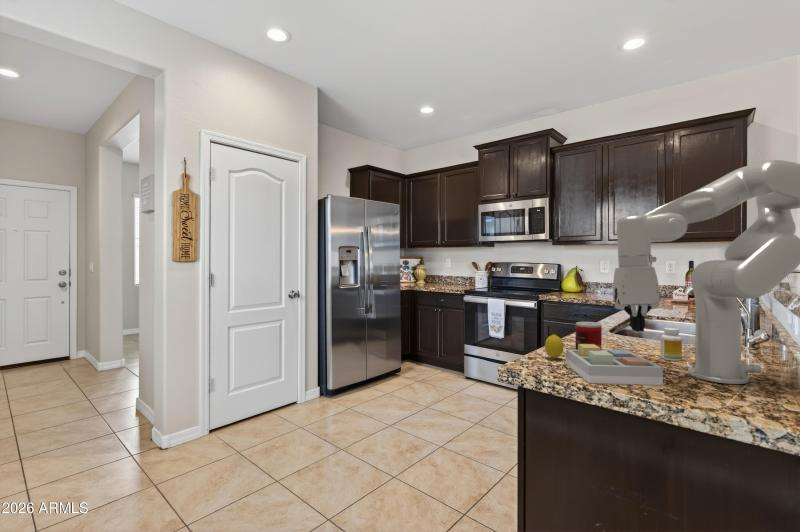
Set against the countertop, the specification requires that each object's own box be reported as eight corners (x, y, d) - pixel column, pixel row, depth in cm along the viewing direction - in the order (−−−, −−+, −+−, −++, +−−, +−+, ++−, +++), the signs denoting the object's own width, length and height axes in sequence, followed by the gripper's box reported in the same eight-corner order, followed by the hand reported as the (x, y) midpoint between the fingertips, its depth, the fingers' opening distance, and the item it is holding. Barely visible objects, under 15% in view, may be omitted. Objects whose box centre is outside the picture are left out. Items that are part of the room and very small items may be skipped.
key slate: (623, 360, 113) (623, 350, 113) (631, 364, 108) (631, 353, 108) (607, 359, 114) (607, 349, 113) (614, 364, 109) (614, 353, 109)
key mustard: (594, 354, 114) (594, 344, 114) (600, 358, 109) (600, 347, 109) (577, 354, 114) (577, 344, 114) (583, 357, 110) (583, 347, 110)
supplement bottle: (686, 361, 120) (686, 330, 119) (668, 361, 120) (668, 330, 119) (673, 356, 125) (674, 327, 125) (657, 356, 125) (657, 327, 125)
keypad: (628, 365, 115) (628, 350, 115) (662, 385, 97) (663, 367, 97) (566, 364, 117) (566, 349, 117) (588, 383, 99) (588, 365, 99)
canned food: (602, 355, 127) (602, 322, 127) (600, 361, 121) (600, 326, 120) (577, 352, 131) (577, 320, 131) (573, 357, 125) (573, 324, 125)
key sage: (606, 361, 106) (606, 351, 105) (613, 366, 101) (613, 355, 101) (588, 361, 106) (588, 350, 106) (595, 366, 101) (595, 354, 101)
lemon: (565, 361, 120) (565, 336, 120) (546, 360, 121) (546, 335, 121) (561, 357, 126) (561, 332, 125) (543, 356, 127) (543, 332, 127)
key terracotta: (638, 368, 105) (638, 357, 105) (647, 373, 100) (647, 361, 100) (620, 367, 105) (620, 356, 105) (628, 372, 101) (628, 361, 101)
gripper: (656, 260, 105) (659, 326, 105) (599, 263, 107) (602, 328, 107) (672, 260, 98) (676, 332, 98) (611, 264, 99) (614, 334, 100)
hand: (637, 330), depth 102 cm, fingers closed
